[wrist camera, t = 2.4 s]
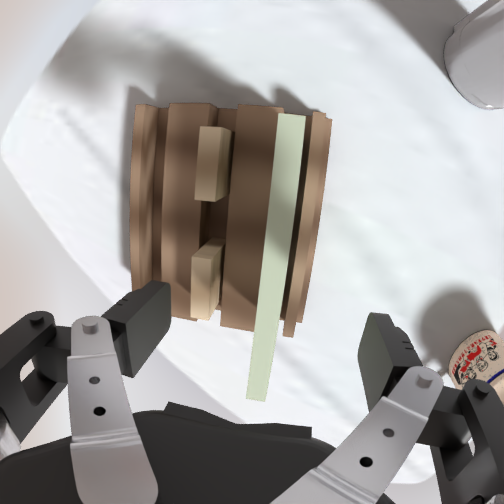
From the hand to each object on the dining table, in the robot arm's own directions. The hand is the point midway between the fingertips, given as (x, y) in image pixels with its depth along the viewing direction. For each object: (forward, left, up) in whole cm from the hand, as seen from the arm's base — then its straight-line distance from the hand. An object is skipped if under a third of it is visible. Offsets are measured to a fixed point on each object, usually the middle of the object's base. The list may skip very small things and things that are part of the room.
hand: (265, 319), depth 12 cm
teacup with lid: (+15, +27, -19) cm, 36 cm away
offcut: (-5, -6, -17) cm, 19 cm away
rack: (0, -6, -19) cm, 20 cm away
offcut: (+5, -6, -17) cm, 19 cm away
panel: (0, 0, -17) cm, 17 cm away
